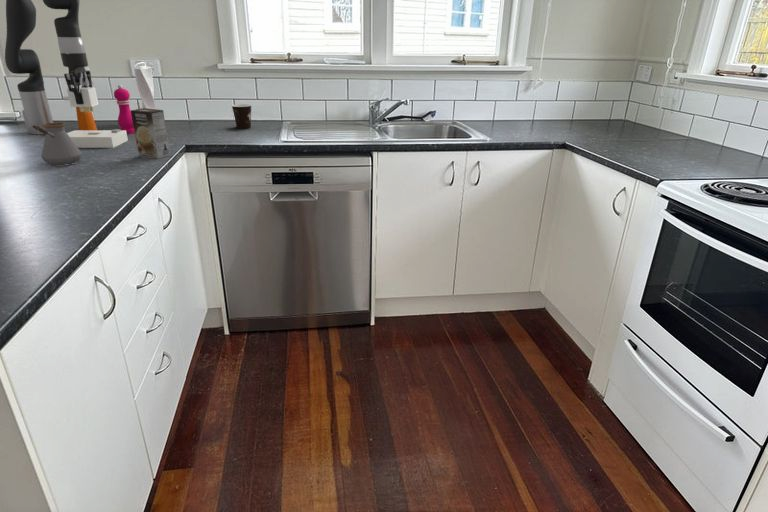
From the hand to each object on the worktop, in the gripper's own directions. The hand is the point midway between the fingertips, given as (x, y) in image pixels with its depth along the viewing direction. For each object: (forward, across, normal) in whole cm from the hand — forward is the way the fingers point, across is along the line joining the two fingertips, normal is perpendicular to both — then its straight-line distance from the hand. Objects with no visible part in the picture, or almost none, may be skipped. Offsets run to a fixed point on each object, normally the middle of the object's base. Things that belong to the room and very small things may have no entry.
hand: (84, 102), depth 176 cm
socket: (+17, -13, -6) cm, 22 cm away
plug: (+3, 0, -2) cm, 3 cm away
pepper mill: (+18, -37, -2) cm, 41 cm away
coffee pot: (+17, +24, -1) cm, 29 cm away
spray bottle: (+18, -39, -18) cm, 46 cm away
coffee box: (+17, +8, +24) cm, 31 cm away
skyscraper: (+18, -56, +1) cm, 59 cm away
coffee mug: (+17, -49, +44) cm, 68 cm away
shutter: (+14, -13, -6) cm, 20 cm away
